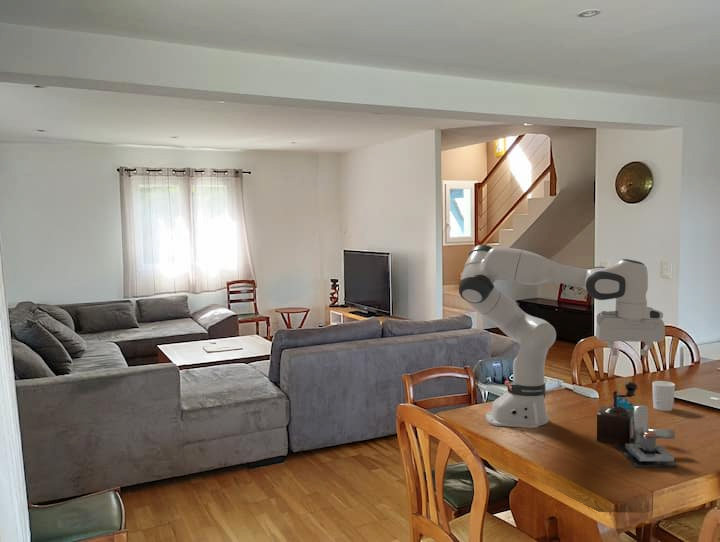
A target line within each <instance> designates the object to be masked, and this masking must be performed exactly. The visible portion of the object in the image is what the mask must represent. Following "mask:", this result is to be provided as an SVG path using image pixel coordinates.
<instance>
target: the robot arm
mask: <svg viewBox="0 0 720 542" xmlns="http://www.w3.org/2000/svg"><path fill="white" fill-rule="evenodd" d="M499 280H502V281H507V282H510V283H515V284H519V285H528V286H538V285H542V284H546V283H558V284H563V285H568V286H571V287H572V286H573V287H577V288H581V289H583V290H585V291H586V292H587V293H588V295H589V296H590V297H592V298H593V299H595V300H598V301H607V300H613V299H615V310H610V311H609V310H608V311H605V310H604V311H601V312H599V313H598V314H597V315H596V330H595V337H596V339H597V340H599V341H600V342H606V344H607V346H608V348H609V352H610V355H611V356H617V355H618V349H617V348H614V345H615V342H634V343H635V342H636V343H637V342H642V343H643V342H644V344H645V346H644V347H643V349H640V355H641V356H642V357H648V355H649V350H650V349H651V347H653V343H658V342H659V343H661V342H662V343H663V342H664V340H665V339H666V326H665V322H664V321H663V320H662V319H663V318H664V313H663V311H660V310H657V309H654V308H652V307H649V306H648V300H647V292H648V287H649V273H648V268H647V266H646V264H644V263H643V262H641V261H637V260H633V259H628V258H621V259H620V260H619V261H617V262H616V263H613V264H611V265H608V266H606V267H605V266H594V267H589V268H583V267H577V266H573V265H568V264H567V265H566V264H563V263H558V262H556V261H553V260H551V259H548V258H547V257H544V256H543V255H540V254H537V253H535V252H532V251H528V250H524V249H520V248H514V247H501V246H499V247H498V246H497V247H493V246H490V245H488V244H479V245H478V244H477V245H476V246H474V247H473V248H472V249H471V251H470V252H469V254H468V258H467V260H466V261H465V263H464V266H463V269H462V274H461V278H460V281H459V283H458V293H459V296H460V297H461V298H462V299H463V300H464V301H466V302H467V304H468V305H469V306H470V307H472V308H473V309H474V310H475V311H476V312H478V314H480V315H481V316H483V317H484V318H485V319H487V320H488V321H489V322H491V323H492V324H494V325H495V326H496V327H497V328H498V329H500V331H501V332H502V333H504V335H506V336H507V337H508V338H509V339H511V340H512V341H513V342H515V343H518V344H519V350H518V354H517V355H516V357H515V358H514V360H513V362H512V365H513V366H512V374H513V375H512V381H509V380H505V381H504V386H505V387H507V391H506V392H505V393H503V394H502V395H500V396H499V397H498V398H496V399H495V400H494V401H493V403H492V406H491V411H487V412H486V414H485V419H486V422H488V423H489V424H491V425H493V426H497V427H513V428H523V429H524V428H525V429H526V428H527V429H528V428H529V429H536V428H538V427H540V426H543V425H546V424H548V423H549V419H548V415H547V410H546V409H547V408H546V401H545V399H546V382H545V364H546V358H547V354H548V352H549V349H550V348H551V347H552V346H553V345H554V343H555V342H556V340H557V331H556V329H555V327H554V326H553V325H552V324H550V322H549V321H547V320H545V319H543V318H539V317H537V316H533V315H531V314H528V313H526V312H525V311H523V309H522V308H521V307H519V305H518V304H517V302H516V301H515V300H513V298H511V297H510V296H509V295H507V294H506V293H505V292H503V291H502V290H500V289H499V288H498V287H496V286H495V285H494V283H495V282H497V281H499Z"/></svg>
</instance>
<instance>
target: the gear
mask: <svg viewBox="0 0 720 542" xmlns="http://www.w3.org/2000/svg"><path fill="white" fill-rule="evenodd" d="M628 401H629V400H628V399H627V397H624V399H623V397H618V398H617V406H621V407H623V408H626V407H627V408H626V409H629V410H633V423H634V404H633V403H632V401H631V402H629V403H628Z"/></svg>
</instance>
